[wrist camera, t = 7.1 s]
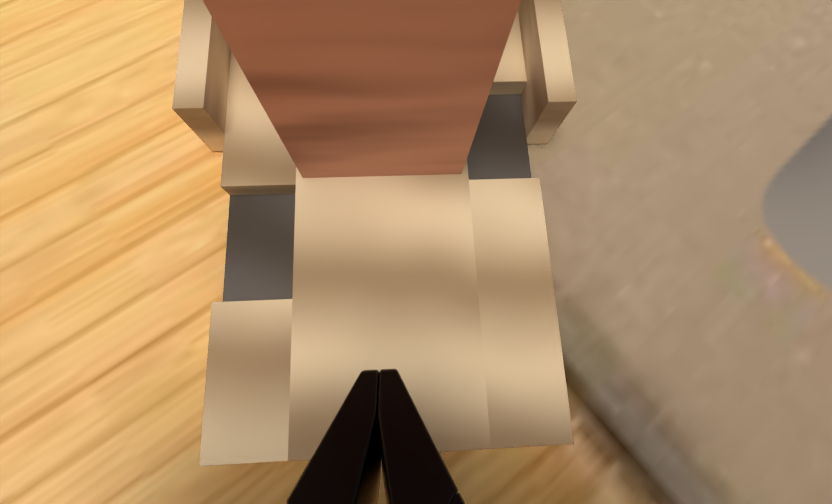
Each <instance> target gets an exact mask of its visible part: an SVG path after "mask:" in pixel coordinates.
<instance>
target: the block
mask: <svg viewBox="0 0 832 504" xmlns="http://www.w3.org/2000/svg"><path fill="white" fill-rule="evenodd" d="M203 2H204V4H205V5H206V7H207V9H208V11H209V13H210V14H211V16H212V18H213V20H214V21H215V23H216V25H217V27H218V29H219V30H220V32H221V34H222V36H223V37H224V39H225V41H226V43H227V44H228V46H229V48H230V50H231V52H232V53H233V55H234V57H235V59H236V60H237V62H238V64H239V66H240V68H241V69H242V71H243V73H244V75H245V76H246V78H247V80H248V82H249V84H250V85H251V87H252V89H253V91H254V92H255V94H256V96H257V98H258V100H259V101H260V103H261V105H262V107H263V108H264V110H265V112H266V114H267V116H268V117H269V119H270V121H271V123H272V124H273V126H274V128H275V130H276V132H277V133H278V135H279V137H280V139H281V140H282V142H283V144H284V146H285V147H286V149H287V151H288V153H289V155H290V156H291V158H292V160H293V162H294V163H295V165H296V167H297V169H298V171H299V172H300V174H301V176H302V178H328V177H366V176H404V175H442V174H462V171H463V168H464V165H465V162H466V159H467V157H468V154H469V151H470V148H471V145H472V142H473V139H474V136H475V133H476V130H477V127H478V125H479V122H480V119H481V116H482V113H483V110H484V107H485V104H486V101H487V98H488V95H489V93H490V90H491V87H492V84H493V81H494V78H495V75H496V72H497V69H498V66H499V63H500V61H501V58H502V55H503V52H504V49H505V46H506V43H507V40H508V37H509V34H510V31H511V29H512V26H513V23H514V20H515V17H516V14H517V11H518V8H519V5H520V2H521V0H203Z"/></svg>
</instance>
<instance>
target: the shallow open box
mask: <svg viewBox="0 0 832 504" xmlns="http://www.w3.org/2000/svg"><path fill="white" fill-rule="evenodd" d="M576 102H577V100H576V93H575V87H574V81H573V75H572V69H571V62H570V56H569V50H568V44H567V38H566V31H565V25H564V19H563V13H562V7H561V1H560V0H521V2H520V5H519V8H518V11H517V14H516V17H515V20H514V23H513V26H512V29H511V31H510V34H509V37H508V40H507V43H506V46H505V49H504V52H503V55H502V58H501V61H500V63H499V66H498V69H497V72H496V75H495V78H494V81H493V84H492V87H491V90H490V93H489V95H488V98H487V101H486V104H485V107H484V110H483V113H482V116H481V119H480V122H479V125H478V127H477V130H476V133H475V136H474V139H473V142H472V145H471V148H470V151H469V154H468V157H467V159H466V162H465V165H464V168H463V171H462V174H442V175H404V176H366V177H328V178H302V176H301V174H300V172H299V171H298V169H297V167H296V165H295V163H294V162H293V160H292V158H291V156H290V155H289V153H288V151H287V149H286V147H285V146H284V144H283V142H282V140H281V139H280V137H279V135H278V133H277V132H276V130H275V128H274V126H273V124H272V123H271V121H270V119H269V117H268V116H267V114H266V112H265V110H264V108H263V107H262V105H261V103H260V101H259V100H258V98H257V96H256V94H255V92H254V91H253V89H252V87H251V85H250V84H249V82H248V80H247V78H246V76H245V75H244V73H243V71H242V69H241V68H240V66H239V64H238V62H237V60H236V59H235V57H234V55H233V53H232V52H231V50H230V48H229V46H228V44H227V43H226V41H225V39H224V37H223V36H222V34H221V32H220V30H219V29H218V27H217V25H216V23H215V21H214V20H213V18H212V16H211V14H210V13H209V11H208V9H207V7H206V5H205V4H204V2H203V0H185V1H184V10H183V19H182V28H181V36H180V45H179V54H178V63H177V72H176V80H175V89H174V98H173V107H172V109H173V110H174V111H175V112H176V113H177V114H178V115H179V116H180V117H181V118H182V119H183V120H184V122H185V123H186V124H187V125H188V126H189V127H190V128H191V129H192V130H193V131H194V132H195V133H196V134H197V135H198V136H199V138H200V139H201V140H202V141H203V142H204V143H205V144H206V145H207V146H208V147H209V148H210V149H211V150H212V151H223V162H222V175H221V187H222V188H223V189H224V190H225V191H226V192H227V193H228V194H229V195H230V205H229V220H228V234H227V248H226V262H225V277H224V291H223V302H212V306H211V319H210V332H209V345H208V358H207V371H206V384H205V397H204V410H203V423H202V436H201V449H200V462H199V466H210V465H227V464H244V463H261V462H278V461H294V460H310V459H311V458H312V456H313V454H314V452H315V451H316V449H317V447H318V445H319V444H320V442H321V440H322V438H323V437H324V435H325V433H326V432H327V430H328V428H329V426H330V425H331V423H332V421H333V419H334V418H335V416H336V414H337V412H338V411H339V409H340V407H341V405H342V404H343V402H344V400H345V398H346V397H347V395H348V393H349V391H350V390H351V388H352V386H353V385H354V383H355V381H356V379H357V378H358V376H359V374H360V373H361V371H363V370H378V371H379V372H380V370H381V369H397V370H398V372H399V374H400V376H401V378H402V380H403V382H404V384H405V386H406V388H407V390H408V392H409V394H410V396H411V398H412V400H413V402H414V404H415V406H416V408H417V410H418V412H419V414H420V416H421V418H422V420H423V422H424V424H425V426H426V428H427V430H428V432H429V434H430V436H431V437H432V439H433V441H434V443H435V445H436V447H437V449H438V451H439V452H446V451H463V450H480V449H497V448H513V447H530V446H547V445H564V444H574V441H573V433H572V425H571V418H570V410H569V402H568V395H567V387H566V379H565V371H564V364H563V356H562V348H561V340H560V333H559V325H558V317H557V310H556V302H555V294H554V286H553V279H552V271H551V263H550V255H549V248H548V240H547V232H546V225H545V217H544V209H543V201H542V194H541V186H540V178H531V172H530V164H529V156H528V148H527V144H547V143H548V142H549V140H550V139H551V137H552V136H553V134H554V133H555V132H556V130H557V129H558V127H559V126H560V124H561V123H562V122H563V120H564V119H565V117H566V116H567V115H568V113H569V112H570V110H571V109H572V107H573V106H574V105H575V103H576Z"/></svg>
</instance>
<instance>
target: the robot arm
mask: <svg viewBox="0 0 832 504" xmlns="http://www.w3.org/2000/svg"><path fill="white" fill-rule="evenodd" d="M381 460H382V469H383V480H384V488H385V496H386V504H465V503H464V501H463V499H462V497H461V495H460V493H458V489H457V487H456V485H455V483H454V481H453V479H452V477H451V475H450V473H449V471H448V469H447V467H446V465H445V463H444V461H443V459H442V457H441V455H440V453H439V451H438V449H437V447H436V445H435V443H434V441H433V439H432V437H431V436H430V434H429V432H428V430H427V428H426V426H425V424H424V422H423V420H422V418H421V416H420V414H419V412H418V410H417V408H416V406H415V404H414V402H413V400H412V398H411V396H410V394H409V392H408V390H407V388H406V386H405V384H404V382H403V380H402V378H401V376H400V374H399V372H398V370H397V369H381V370H380V372H379V371H378V370H363V371H361V373H360V374H359V376H358V378H357V379H356V381H355V383H354V385H353V386H352V388H351V390H350V391H349V393H348V395H347V397H346V398H345V400H344V402H343V404H342V405H341V407H340V409H339V411H338V412H337V414H336V416H335V418H334V419H333V421H332V423H331V425H330V426H329V428H328V430H327V432H326V433H325V435H324V437H323V438H322V440H321V442H320V444H319V445H318V447H317V449H316V451H315V452H314V454H313V456H312V458H311V459H310V461H309V463H308V465H307V466H306V468H305V470H304V472H303V473H302V475H301V477H300V478H299V480H298V482H297V484H296V485H295V487H294V489H293V491H292V492H291V494H290V496H289V498H288V499H287V504H377V503H378V495H379V486H380V476H381Z"/></svg>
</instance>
